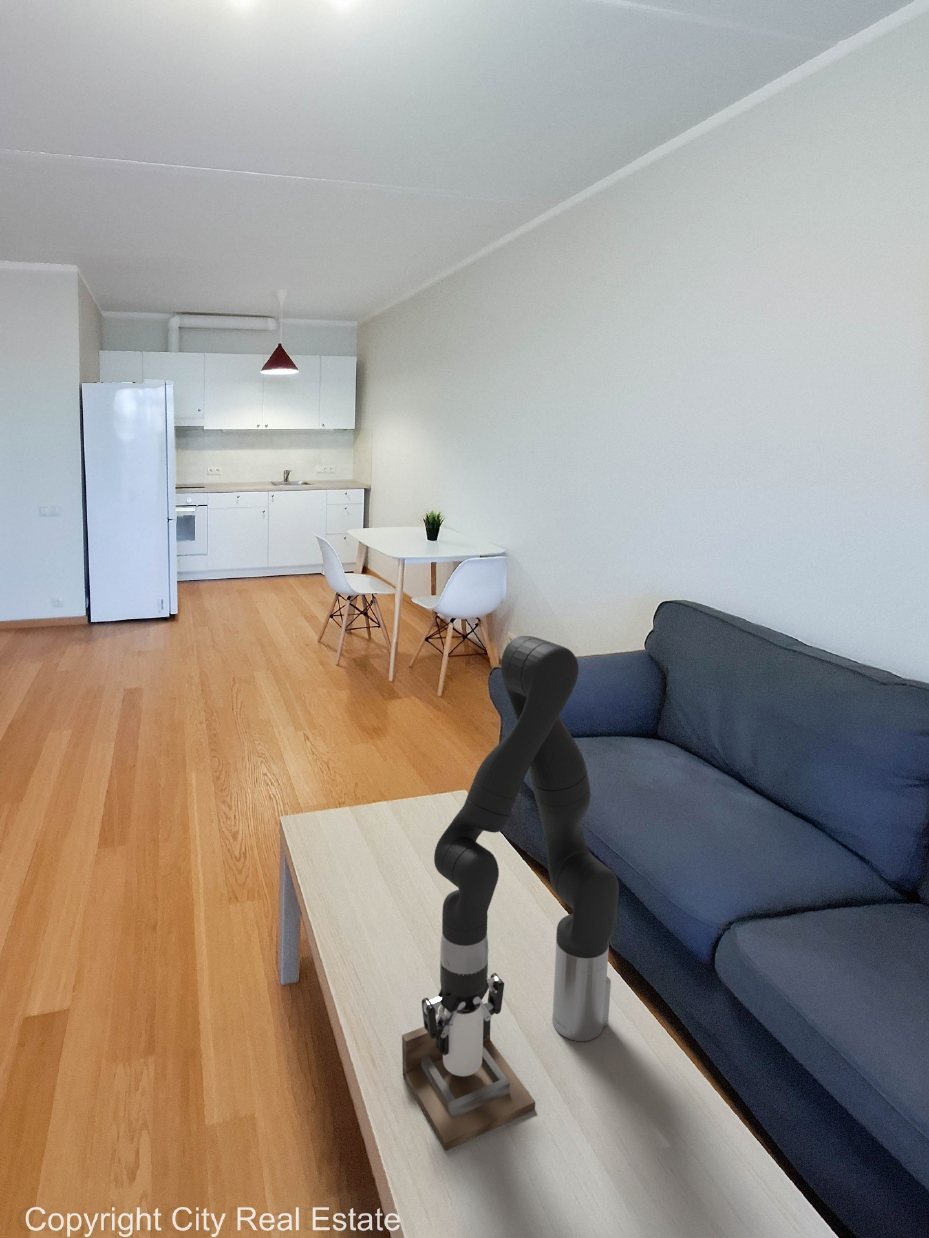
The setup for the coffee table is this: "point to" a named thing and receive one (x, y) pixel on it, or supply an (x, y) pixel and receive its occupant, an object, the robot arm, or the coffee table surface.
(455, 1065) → the can
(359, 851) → the coffee table surface
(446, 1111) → the wall board
